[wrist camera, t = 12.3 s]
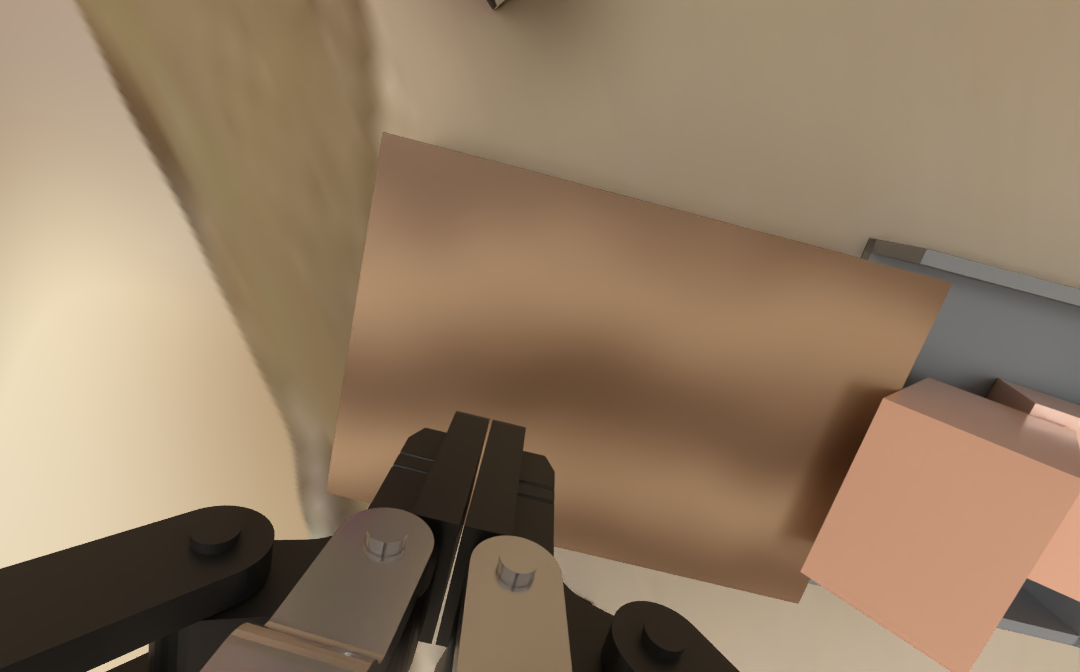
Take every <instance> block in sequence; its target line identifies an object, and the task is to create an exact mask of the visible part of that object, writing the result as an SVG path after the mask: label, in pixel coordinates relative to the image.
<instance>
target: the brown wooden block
mask: <svg viewBox="0 0 1080 672" xmlns="http://www.w3.org/2000/svg"><path fill="white" fill-rule="evenodd" d="M952 284H953V283H952V282H948V281H944V280H941V279H937V278H933V277H929V276H926V275H922V274H918V273H914V272H910V271H907V270H903V269H899V268H895V267H892V266H888V265H884V264H880V263H876V262H873V261H869V260H865V259H861V258H858V257H854V256H850V255H846V254H842V253H839V252H835V251H831V250H827V249H824V248H820V247H816V246H812V245H808V244H805V243H801V242H797V241H793V240H790V239H786V238H782V237H778V236H774V235H771V234H767V233H763V232H759V231H756V230H752V229H748V228H744V227H740V226H737V225H733V224H729V223H725V222H722V221H718V220H714V219H710V218H706V217H703V216H699V215H695V214H691V213H688V212H684V211H680V210H676V209H672V208H669V207H665V206H661V205H657V204H654V203H650V202H646V201H642V200H638V199H635V198H631V197H627V196H623V195H619V194H616V193H612V192H608V191H604V190H601V189H597V188H593V187H589V186H585V185H582V184H578V183H574V182H570V181H567V180H563V179H559V178H555V177H551V176H548V175H544V174H540V173H536V172H533V171H529V170H525V169H521V168H517V167H514V166H510V165H506V164H502V163H499V162H495V161H491V160H487V159H483V158H480V157H476V156H472V155H468V154H465V153H461V152H457V151H453V150H449V149H446V148H442V147H438V146H434V145H431V144H427V143H423V142H419V141H415V140H412V139H408V138H404V137H400V136H397V135H393V134H389V133H385V132H383V134H382V140H381V146H380V153H379V159H378V165H377V172H376V178H375V184H374V191H373V197H372V203H371V210H370V216H369V222H368V229H367V235H366V241H365V248H364V254H363V260H362V267H361V273H360V279H359V286H358V292H357V298H356V305H355V311H354V317H353V324H352V330H351V336H350V342H349V349H348V355H347V361H346V368H345V374H344V380H343V387H342V393H341V399H340V406H339V412H338V418H337V425H336V431H335V437H334V444H333V450H332V456H331V463H330V469H329V475H328V482H327V488H326V493H330V494H334V495H339V496H343V497H347V498H351V499H356V500H360V501H364V502H368V503H372V501H373V499H374V497H375V496H376V494H377V492H378V490H379V488H380V487H381V485H382V483H383V481H384V480H385V478H386V476H387V474H388V473H389V471H390V469H391V467H393V464H394V462H395V460H396V458H397V457H398V455H399V454H400V451H401V449H402V448H403V446H404V444H405V442H406V441H407V439H408V437H410V436H411V435H413V434H415V433H417V432H418V431H420V430H422V429H423V428H430V429H434V430H438V431H442V432H446V433H447V431H448V429H449V426H450V424H451V422H452V419H453V417H454V415H455V412H456V411H460V412H464V413H468V414H473V415H477V416H481V417H485V418H489V419H490V420H489V425H488V429H487V433H486V437H485V441H484V446H483V450H482V454H481V458H480V462H479V466H478V470H477V474H476V479H475V483H474V487H473V491H474V488H475V484H476V480H477V477H478V473H479V469H480V465H481V462H482V458H483V454H484V450H485V447H486V443H487V439H488V435H489V432H490V428H491V424H492V420H493V419H494V420H498V421H502V422H506V423H511V424H515V425H519V426H523V427H526V432H525V439H524V447H523V451H527V452H531V453H535V454H539V455H544V456H546V458H547V460H548V461H549V463H550V465H551V466H552V468H553V470H554V471H555V488H554V491H555V494H554V546H555V547H560V548H564V549H568V550H572V551H577V552H581V553H585V554H589V555H594V556H598V557H602V558H606V559H611V560H615V561H619V562H623V563H628V564H632V565H636V566H640V567H645V568H649V569H653V570H657V571H662V572H666V573H670V574H674V575H679V576H683V577H687V578H691V579H696V580H700V581H704V582H708V583H713V584H717V585H721V586H725V587H730V588H734V589H738V590H742V591H747V592H751V593H755V594H759V595H764V596H768V597H772V598H776V599H781V600H785V601H789V602H793V603H799V601H800V599H801V597H802V595H803V593H804V591H805V588H806V586H807V584H808V582H809V580H810V578H809V577H807V576H806V575H804V574H803V573H801V569H802V567H803V565H804V563H805V561H806V559H807V557H808V555H809V553H810V551H811V548H812V546H813V544H814V542H815V540H816V538H817V536H818V534H819V532H820V530H821V528H822V525H823V523H824V521H825V519H826V517H827V515H828V513H829V511H830V509H831V507H832V504H833V502H834V500H835V498H836V496H837V494H838V492H839V490H840V488H841V486H842V483H843V481H844V479H845V477H846V475H847V473H848V471H849V469H850V467H851V465H852V462H853V460H854V458H855V456H856V454H857V452H858V450H859V448H860V446H861V444H862V442H863V439H864V437H865V435H866V433H867V431H868V429H869V427H870V425H871V423H872V421H873V418H874V416H875V414H876V412H877V410H878V408H879V406H880V404H881V402H882V400H883V398H884V397H887V396H889V395H891V394H893V393H895V392H898V391H900V390H901V389H902V387H903V385H904V383H905V381H906V379H907V377H908V375H909V373H910V371H911V369H912V367H913V365H914V362H915V360H916V358H917V356H918V354H919V352H920V350H921V348H922V346H923V344H924V342H925V340H926V338H927V336H928V333H929V331H930V329H931V327H932V325H933V323H934V321H935V319H936V317H937V315H938V313H939V311H940V309H941V307H942V304H943V302H944V300H945V298H946V296H947V294H948V292H949V290H950V288H951V286H952ZM473 491H472V495H473ZM472 495H471V499H472ZM471 499H470V503H471ZM470 503H469V506H470ZM468 510H469V507H468ZM468 510H467V514H468ZM467 514H466V518H467ZM466 518H465V521H466ZM464 525H465V522H464Z"/></svg>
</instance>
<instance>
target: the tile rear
mask: <svg viewBox="0 0 1080 672" xmlns="http://www.w3.org/2000/svg"><path fill="white" fill-rule="evenodd" d="M986 399H989V400H992V401H994V402H997V403H1000V404H1003V405H1005V406H1008V407H1011V408H1013V409H1016V410H1019V411H1022V412H1024V413H1027V414H1030V415H1033V416H1035V417H1038V418H1041V419H1043V420H1046V421H1049V422H1052V423H1054V424H1057V425H1060V426H1062V427H1065V428H1068V429H1071V430H1073V431H1076V435H1077V439H1078V444H1079V448H1080V405H1078V404H1075V403H1072V402H1069V401H1066V400H1063V399H1060V398H1057V397H1054V396H1051V395H1048V394H1045V393H1042V392H1039V391H1036V390H1033V389H1030V388H1027V387H1024V386H1021V385H1018V384H1015V383H1012V382H1009V381H1006V380H1003V379H1000V378H998V379H997V381H996V382H995V384H994V386H993V388H992V389H991V391H990V393H989V395H988V397H987V398H986ZM1027 578H1028V579H1030V580H1032V581H1034V582H1037V583H1039V584H1041V585H1043V586H1046V587H1048V588H1050V589H1052V590H1055V591H1057V592H1059V593H1061V594H1064V595H1066V596H1068V597H1070V598H1072V599H1075V600H1077V601H1079V602H1080V493H1079V495H1078V497H1077V498H1076V500H1075V502H1074V503H1073V505H1072V506H1071V508H1070V510H1069V511H1068V513H1067V514H1066V516H1065V518H1064V519H1063V521H1062V522H1061V524H1060V526H1059V527H1058V529H1057V531H1056V532H1055V534H1054V535H1053V537H1052V539H1051V540H1050V542H1049V543H1048V545H1047V547H1046V548H1045V550H1044V552H1043V553H1042V555H1041V556H1040V558H1039V560H1038V561H1037V563H1036V564H1035V566H1034V568H1033V569H1032V571H1031V572H1030V574H1029V576H1028V577H1027Z"/></svg>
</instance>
